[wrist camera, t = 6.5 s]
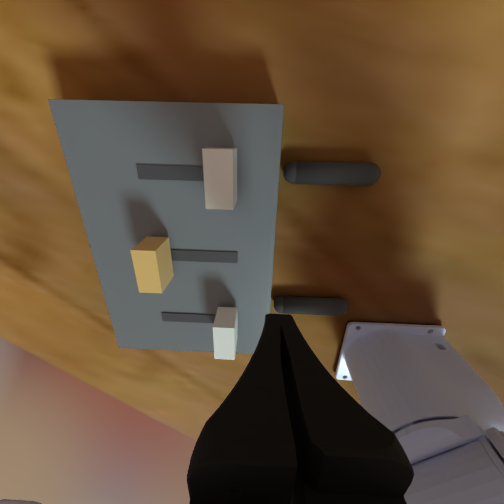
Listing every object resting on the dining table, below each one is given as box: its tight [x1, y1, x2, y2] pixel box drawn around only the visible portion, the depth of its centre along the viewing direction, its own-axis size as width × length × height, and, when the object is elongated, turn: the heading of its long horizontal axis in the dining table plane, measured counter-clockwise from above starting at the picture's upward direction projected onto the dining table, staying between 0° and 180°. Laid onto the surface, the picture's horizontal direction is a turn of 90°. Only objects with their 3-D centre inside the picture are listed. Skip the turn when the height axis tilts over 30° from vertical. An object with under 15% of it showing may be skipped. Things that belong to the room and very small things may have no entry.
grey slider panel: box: [48, 99, 284, 354], centre depth 20 cm, size 14×20×3 cm
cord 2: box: [274, 296, 348, 316], centre depth 23 cm, size 7×2×2 cm, turn 89°
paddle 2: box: [213, 307, 238, 360], centre depth 19 cm, size 2×3×2 cm, turn 179°
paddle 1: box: [202, 148, 237, 210], centre depth 14 cm, size 2×3×2 cm, turn 179°
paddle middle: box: [130, 236, 174, 293], centre depth 17 cm, size 2×3×2 cm, turn 179°
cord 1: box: [284, 161, 381, 186], centre depth 18 cm, size 7×2×2 cm, turn 89°
